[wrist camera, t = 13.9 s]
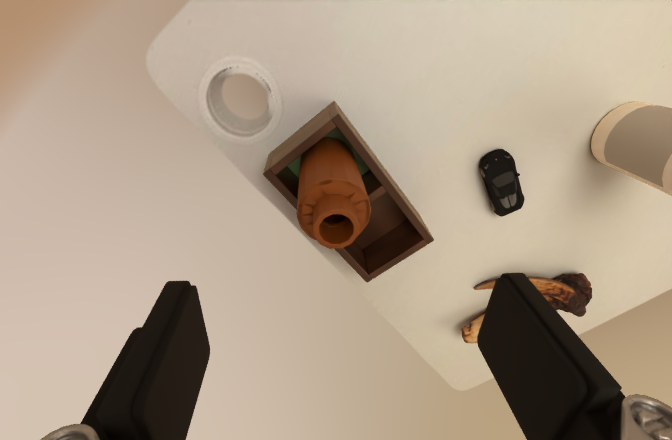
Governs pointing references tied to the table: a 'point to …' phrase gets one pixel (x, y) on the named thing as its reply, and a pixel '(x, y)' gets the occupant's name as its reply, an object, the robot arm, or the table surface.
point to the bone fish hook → (560, 293)
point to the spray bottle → (637, 143)
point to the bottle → (331, 194)
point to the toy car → (502, 182)
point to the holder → (384, 194)
